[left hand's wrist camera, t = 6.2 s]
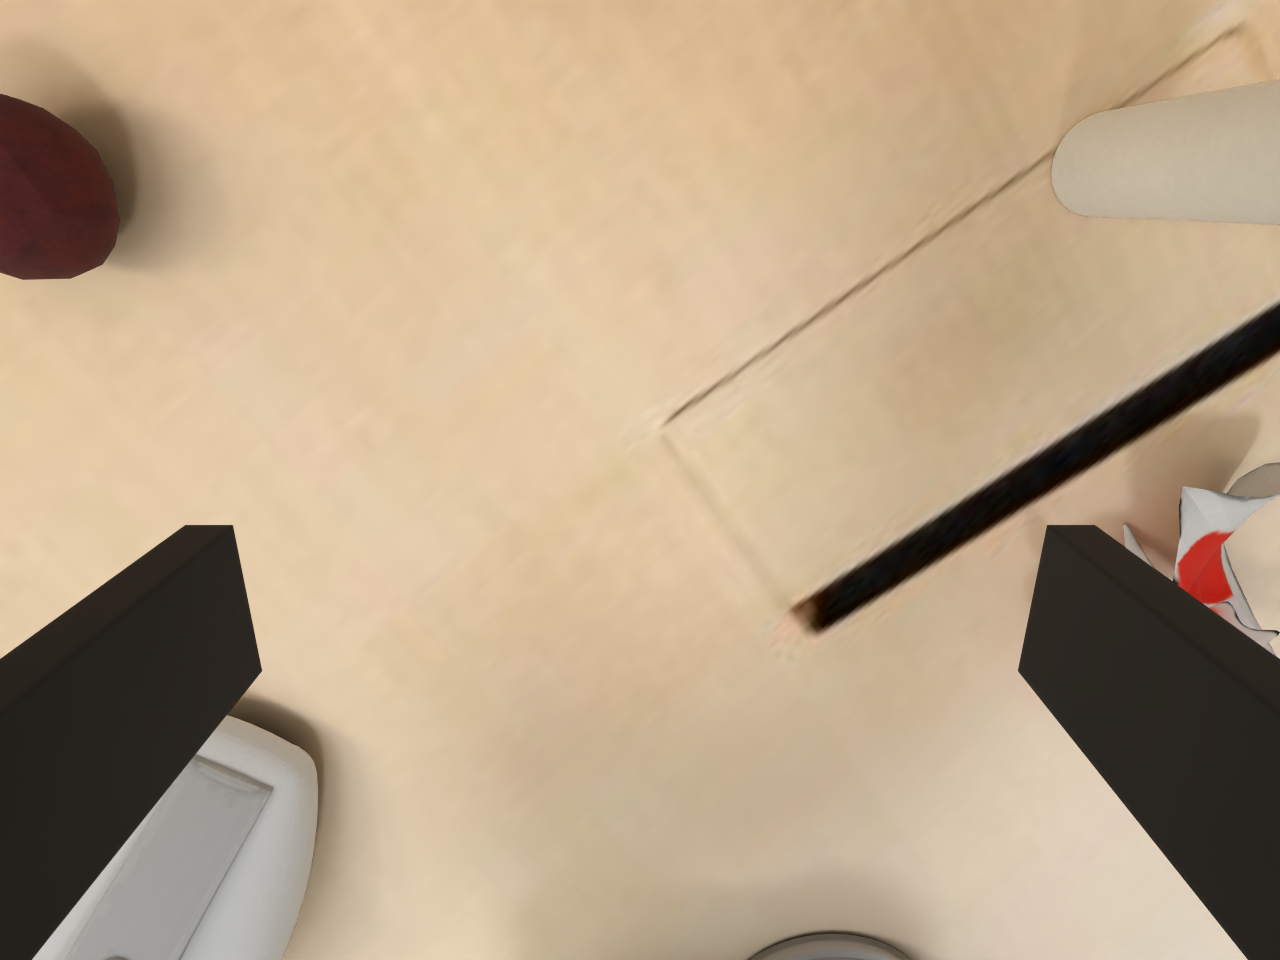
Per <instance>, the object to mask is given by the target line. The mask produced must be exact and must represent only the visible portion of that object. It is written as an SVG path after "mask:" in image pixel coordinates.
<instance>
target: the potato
mask: <svg viewBox="0 0 1280 960" xmlns="http://www.w3.org/2000/svg"><path fill="white" fill-rule="evenodd" d="M118 225H119V215H118V209H117V203H116V197H115V191H114V186H113V183H112V181H111V179H110V177H109V174H108V172H107V170H106V168H105V166H104V164H103V162H102V160H101V158H100V156H99V154H98V152H97V150H96V149H95V148H94V147H93V146H92V145H91V144H90V143H89V142H88V141H86V140H85V139H84V138H83V137H82V136H81V135H80V134H79V133H78V132H77V131H76V130H75V129H74V128H72V127H71V126H69V125H68V124H66V123H65V122H63V121H62V120H60V119H59V118H57V117H56V116H54V115H53V114H51V113H50V112H48V111H47V110H45V109H43V108H41V107H38V106H35V105H33V104H30V103H28V102H25V101H22V100H20V99H16V98H13V97H10V96H6V95H3V94H0V273H3V274H6V275H10V276H13V277H16V278H19V279H23V280H27V279H70V278H73V277H75V276H78V275H80V274H82V273H85V272H87V271H89V270H92V269H94V268H96V267H98V266H100V265H102V264H103V263H104V262H105V260H106V259H107V257H108V256H109V254H110V253H111V251H112V250H113V248H114V246H115V243H116V238H117V232H118Z"/></svg>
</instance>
